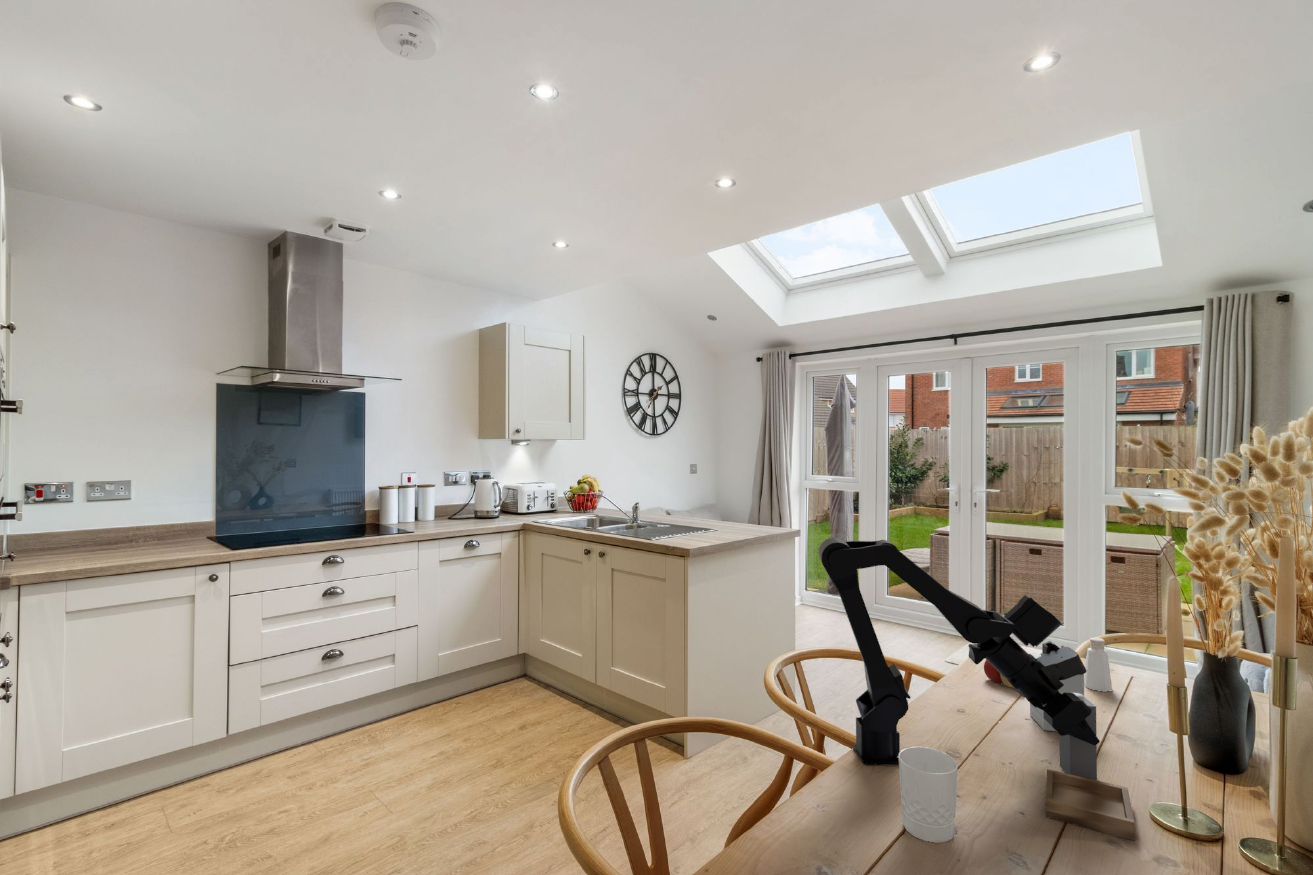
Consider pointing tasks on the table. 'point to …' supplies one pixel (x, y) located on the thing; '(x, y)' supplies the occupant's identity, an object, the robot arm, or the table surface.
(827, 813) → the table surface
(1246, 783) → the table surface
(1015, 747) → the table surface
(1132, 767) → the table surface
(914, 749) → the white cup
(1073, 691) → the supplement box
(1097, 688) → the pepper shaker
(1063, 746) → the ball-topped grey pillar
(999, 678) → the kendama
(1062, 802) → the wooden tray
